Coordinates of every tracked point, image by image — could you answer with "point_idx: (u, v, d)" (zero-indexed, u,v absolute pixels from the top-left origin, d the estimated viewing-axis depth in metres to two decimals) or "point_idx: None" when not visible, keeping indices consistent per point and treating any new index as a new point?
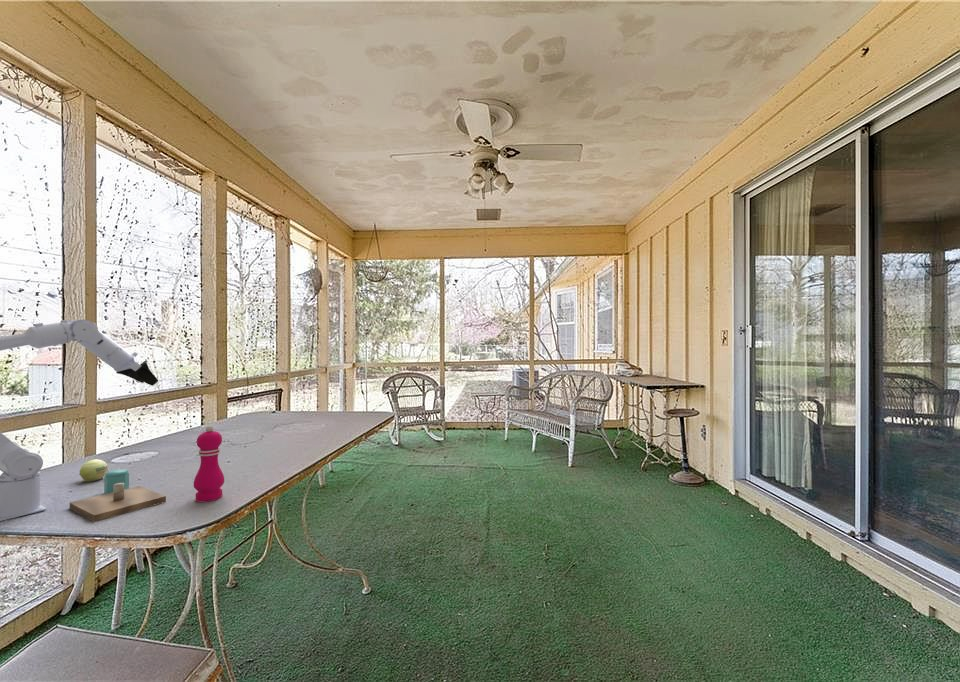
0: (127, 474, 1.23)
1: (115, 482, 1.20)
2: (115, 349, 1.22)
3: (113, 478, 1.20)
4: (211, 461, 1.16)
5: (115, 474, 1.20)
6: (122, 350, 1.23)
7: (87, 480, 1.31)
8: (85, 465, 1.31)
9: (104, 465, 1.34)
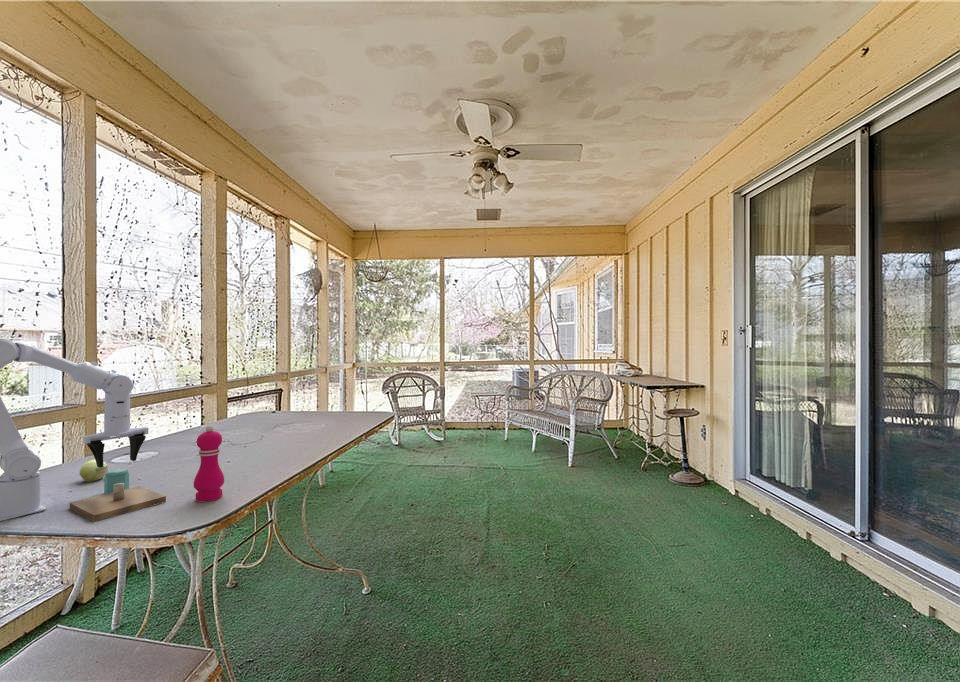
0: (127, 474, 1.23)
1: (115, 482, 1.20)
2: (123, 415, 1.22)
3: (113, 478, 1.20)
4: (211, 461, 1.16)
5: (115, 474, 1.20)
6: (111, 422, 1.20)
7: (87, 480, 1.31)
8: (85, 465, 1.31)
9: (104, 465, 1.34)
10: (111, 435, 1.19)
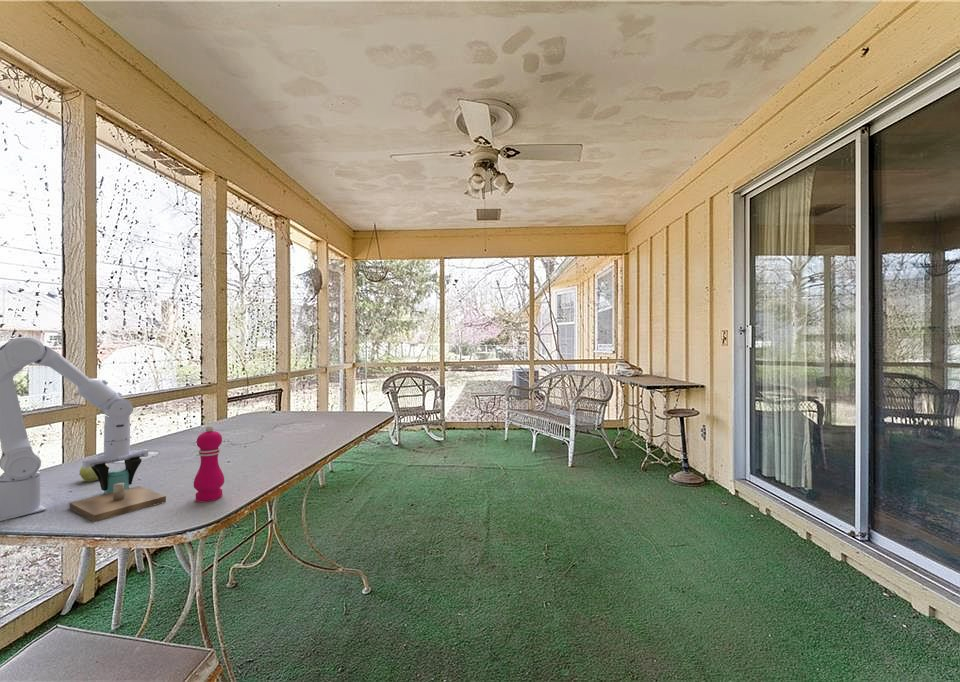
0: (127, 474, 1.23)
1: (115, 482, 1.20)
2: (123, 439, 1.21)
3: (113, 478, 1.20)
4: (211, 461, 1.16)
5: (115, 474, 1.20)
6: (111, 446, 1.20)
7: (87, 480, 1.31)
8: None
9: None
10: (111, 459, 1.19)
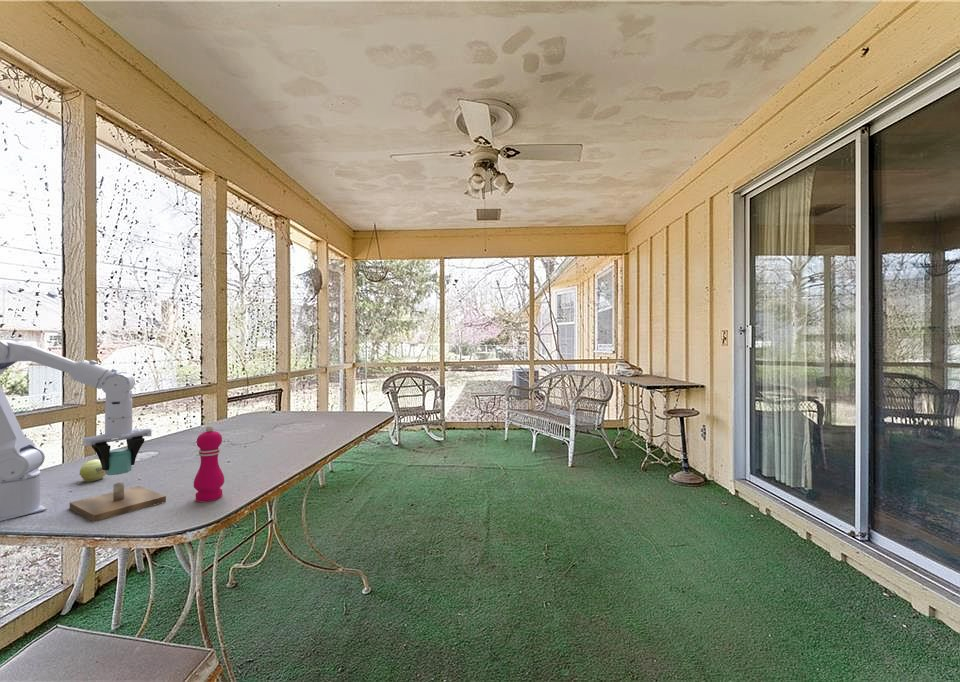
0: (130, 453, 1.17)
1: (117, 462, 1.14)
2: (119, 417, 1.14)
3: (115, 457, 1.14)
4: (211, 461, 1.16)
5: (117, 453, 1.14)
6: (112, 423, 1.13)
7: (87, 480, 1.31)
8: (85, 465, 1.31)
9: None
10: (112, 437, 1.13)
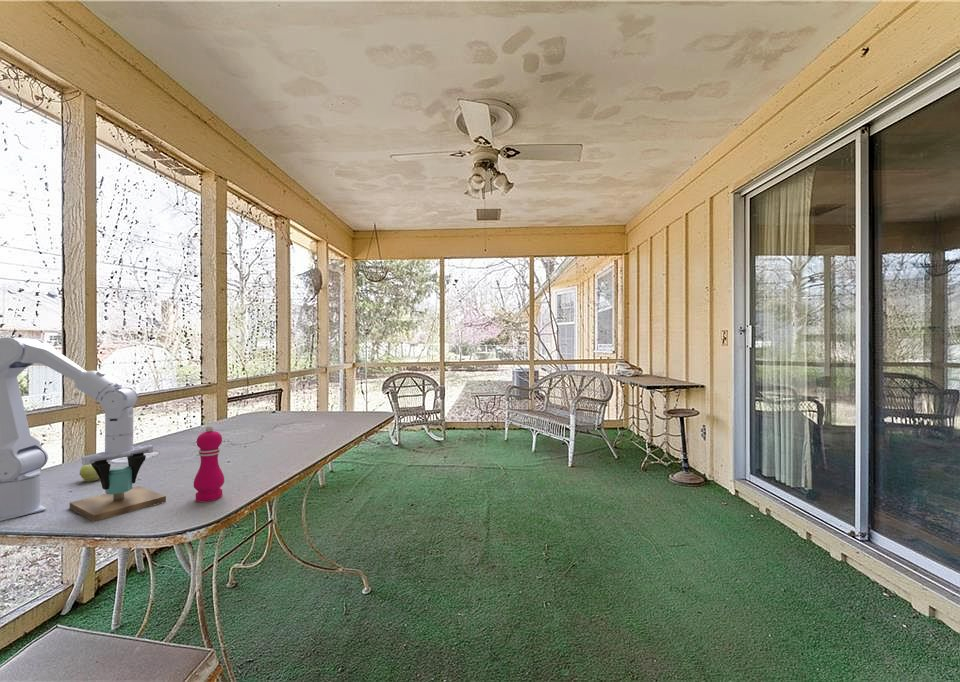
0: (130, 471, 1.13)
1: (117, 480, 1.10)
2: (117, 434, 1.10)
3: (115, 476, 1.10)
4: (211, 461, 1.16)
5: (117, 472, 1.10)
6: (113, 441, 1.10)
7: (87, 480, 1.31)
8: (85, 465, 1.31)
9: None
10: (112, 455, 1.09)
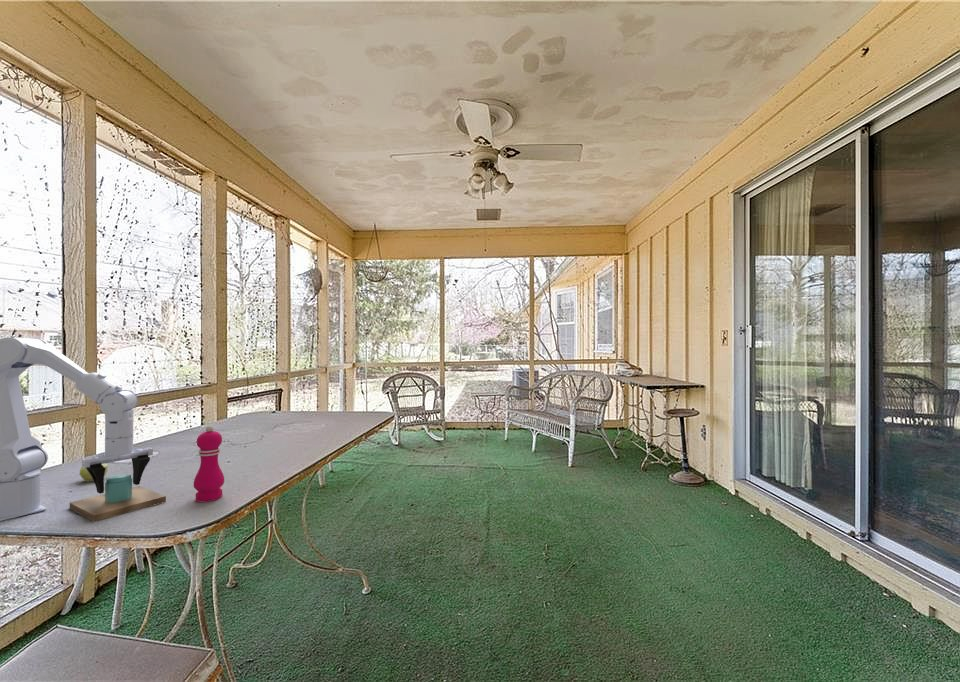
0: (130, 479, 1.13)
1: (117, 489, 1.10)
2: (117, 437, 1.10)
3: (115, 485, 1.10)
4: (211, 461, 1.16)
5: (117, 480, 1.10)
6: (113, 443, 1.10)
7: (87, 480, 1.31)
8: None
9: (104, 465, 1.34)
10: (112, 458, 1.09)
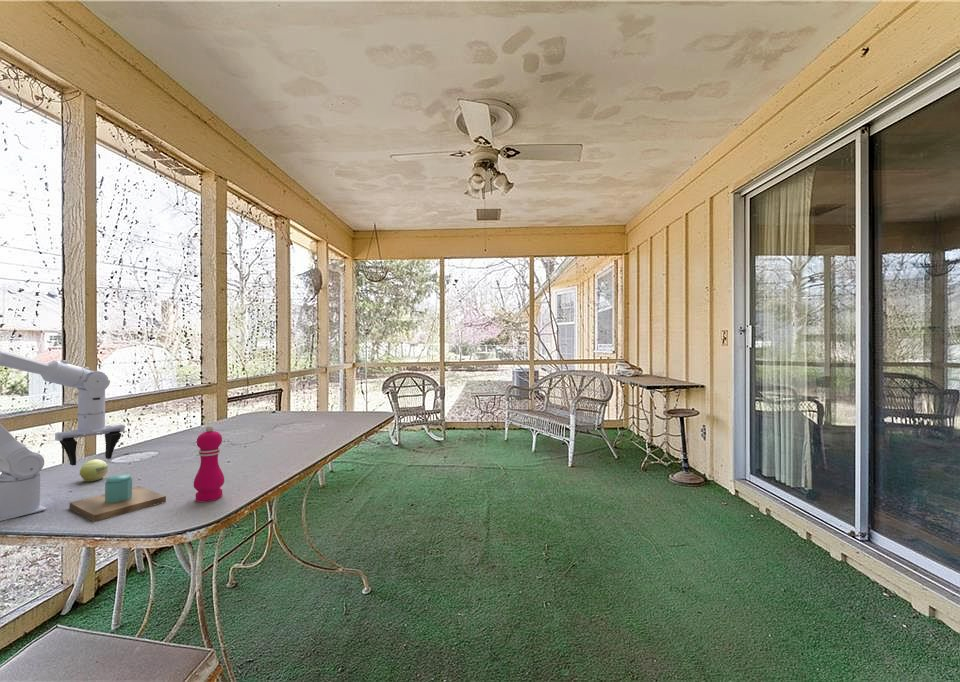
0: (130, 479, 1.13)
1: (117, 489, 1.10)
2: (99, 412, 1.19)
3: (115, 485, 1.10)
4: (211, 461, 1.16)
5: (117, 480, 1.10)
6: (84, 419, 1.17)
7: (87, 480, 1.31)
8: (85, 465, 1.31)
9: (104, 465, 1.34)
10: (84, 432, 1.17)
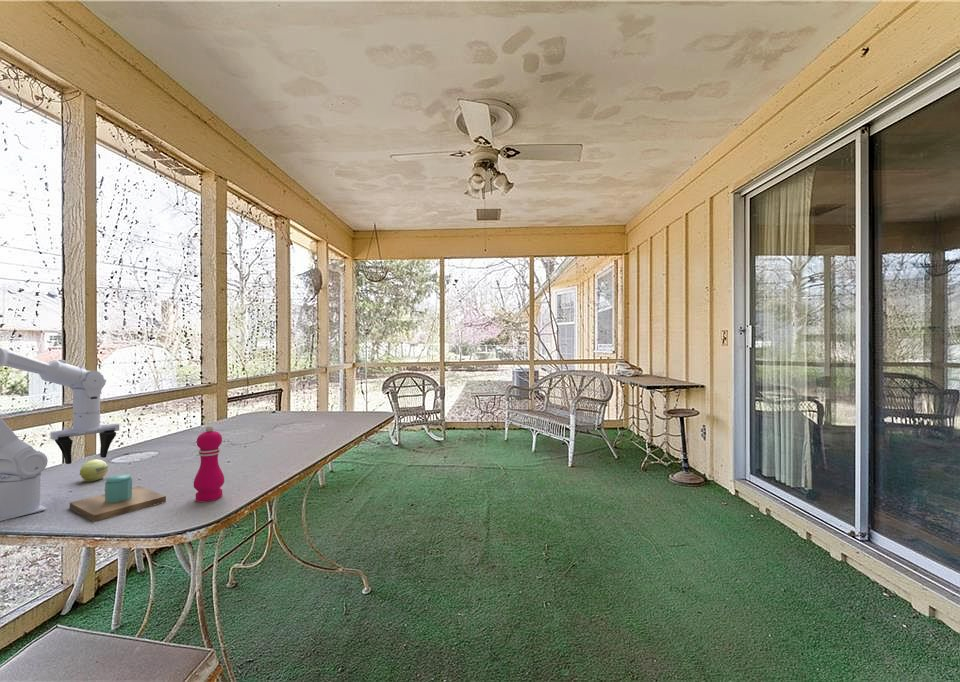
0: (130, 479, 1.13)
1: (117, 489, 1.10)
2: (96, 411, 1.21)
3: (115, 485, 1.10)
4: (211, 461, 1.16)
5: (117, 480, 1.10)
6: (80, 418, 1.19)
7: (87, 480, 1.31)
8: (85, 465, 1.31)
9: (104, 465, 1.34)
10: (79, 431, 1.18)
